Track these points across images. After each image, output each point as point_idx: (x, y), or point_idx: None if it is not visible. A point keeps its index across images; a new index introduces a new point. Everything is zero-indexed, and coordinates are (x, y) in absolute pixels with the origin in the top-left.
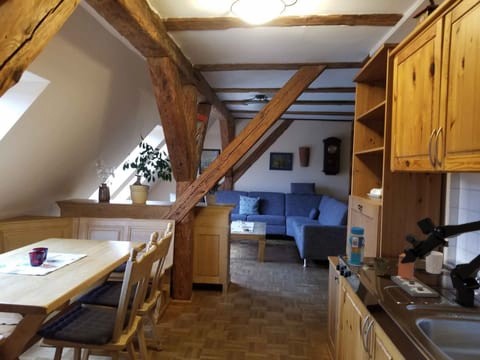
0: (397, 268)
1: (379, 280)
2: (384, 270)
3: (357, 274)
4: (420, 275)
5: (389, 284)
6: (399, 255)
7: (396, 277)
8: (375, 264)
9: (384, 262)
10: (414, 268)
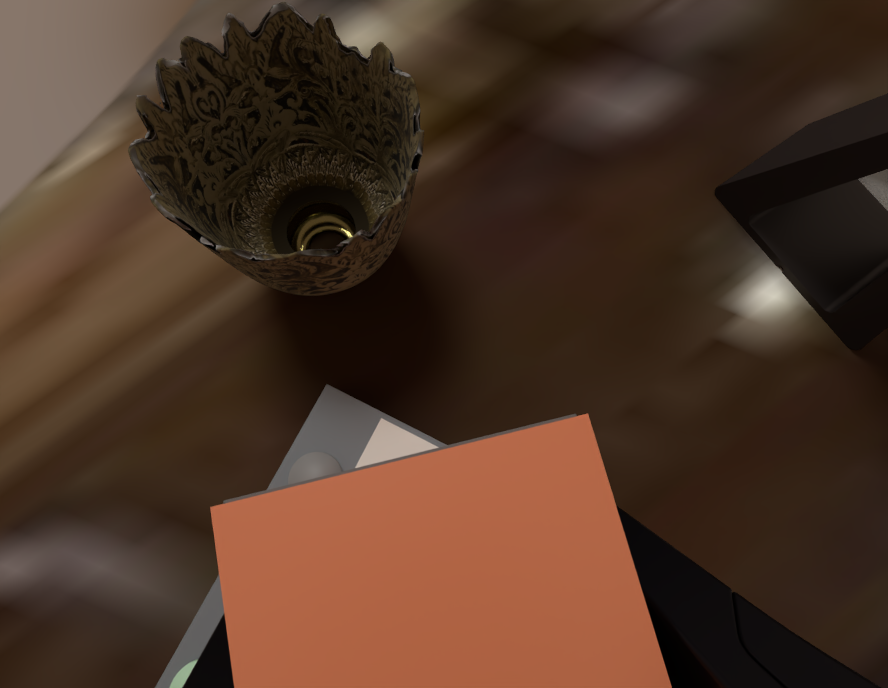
0: (717, 192)
1: (154, 364)
2: (279, 290)
3: (98, 128)
4: (804, 457)
5: (139, 514)
6: (212, 518)
7: (328, 465)
8: (180, 155)
9: (408, 155)
10: (872, 325)
